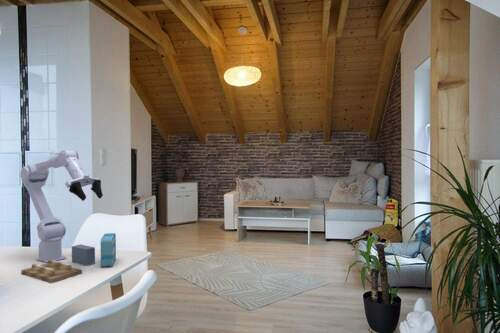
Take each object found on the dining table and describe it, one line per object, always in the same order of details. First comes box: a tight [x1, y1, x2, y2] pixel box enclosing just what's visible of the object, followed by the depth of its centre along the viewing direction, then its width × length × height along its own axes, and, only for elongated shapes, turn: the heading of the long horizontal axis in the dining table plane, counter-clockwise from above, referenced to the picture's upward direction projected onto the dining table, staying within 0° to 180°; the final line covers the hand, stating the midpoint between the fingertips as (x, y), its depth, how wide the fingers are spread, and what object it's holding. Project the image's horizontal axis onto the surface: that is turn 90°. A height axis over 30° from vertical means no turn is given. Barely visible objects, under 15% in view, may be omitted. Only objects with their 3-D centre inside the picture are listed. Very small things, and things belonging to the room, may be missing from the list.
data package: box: [100, 232, 117, 268], centre depth 148 cm, size 12×4×12 cm, turn 15°
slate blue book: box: [71, 243, 96, 267], centre depth 149 cm, size 10×4×7 cm, turn 61°
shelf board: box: [20, 260, 83, 284], centre depth 135 cm, size 20×12×4 cm, turn 61°
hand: (93, 198), depth 140 cm, fingers open, 7 cm apart
